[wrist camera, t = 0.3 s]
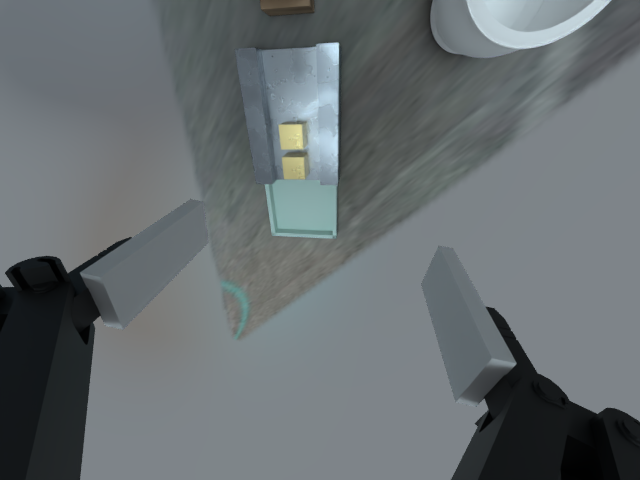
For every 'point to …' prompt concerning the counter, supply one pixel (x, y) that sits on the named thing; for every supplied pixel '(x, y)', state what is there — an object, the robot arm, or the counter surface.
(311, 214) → the tray
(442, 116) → the counter surface
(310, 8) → the stepped wooden block
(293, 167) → the yellow sponge cube
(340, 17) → the counter surface
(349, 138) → the counter surface
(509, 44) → the jar
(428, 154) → the counter surface
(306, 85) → the slot board
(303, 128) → the chip
